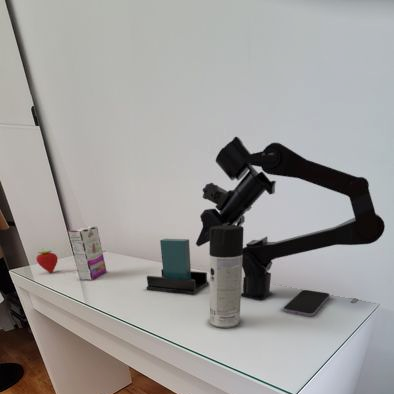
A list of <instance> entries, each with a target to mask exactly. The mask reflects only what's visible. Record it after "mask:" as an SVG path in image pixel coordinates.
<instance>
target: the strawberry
mask: <svg viewBox="0 0 394 394" xmlns="http://www.w3.org/2000/svg"><path fill="white" fill-rule="evenodd" d="M36 262H37V264H38V265H39V266H40V267H41V268H42V269H43V270H45V271H47V273H49V274H50V273H53V272H54V270H55V268H56V266H57V264H58V256H57V254H56V253H54V252H52V250H44V248H42V250H41V251H38V255H37V256H36Z"/></svg>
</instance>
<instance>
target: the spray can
mask: <svg viewBox="0 0 394 394" xmlns="http://www.w3.org/2000/svg"><path fill="white" fill-rule="evenodd" d="M244 230H245V229H244V226H242V225H241V226H232V225H229V226H228V225H224V226H214V227H211V228H210V241H209V249H208V251H209V253H208V254H209V322H210V324H211V325H212V326H213V327H215V328H219V329H230V328H235V327H236V326H237V325H238V324H239V323H240V321H241V300H242V296H241V294H242V282H243V279H242V278H243V275H242V274H243V267H242V259H243V248H244Z"/></svg>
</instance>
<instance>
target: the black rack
mask: <svg viewBox="0 0 394 394" xmlns="http://www.w3.org/2000/svg"><path fill="white" fill-rule="evenodd" d="M160 271H161V276H159V275H147V276H146V282H147V286H146V290H147V291H155V292H163V293H172V294H181V295H191V296H194V295H196V294H197V293H198V292H200V291H201V290H203V289H204V288H205V287H207V286H208V285H209V280H208V272H206V271H194V270H191V279H180V278H169V277H164V274H163V268H162V269H160Z"/></svg>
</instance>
